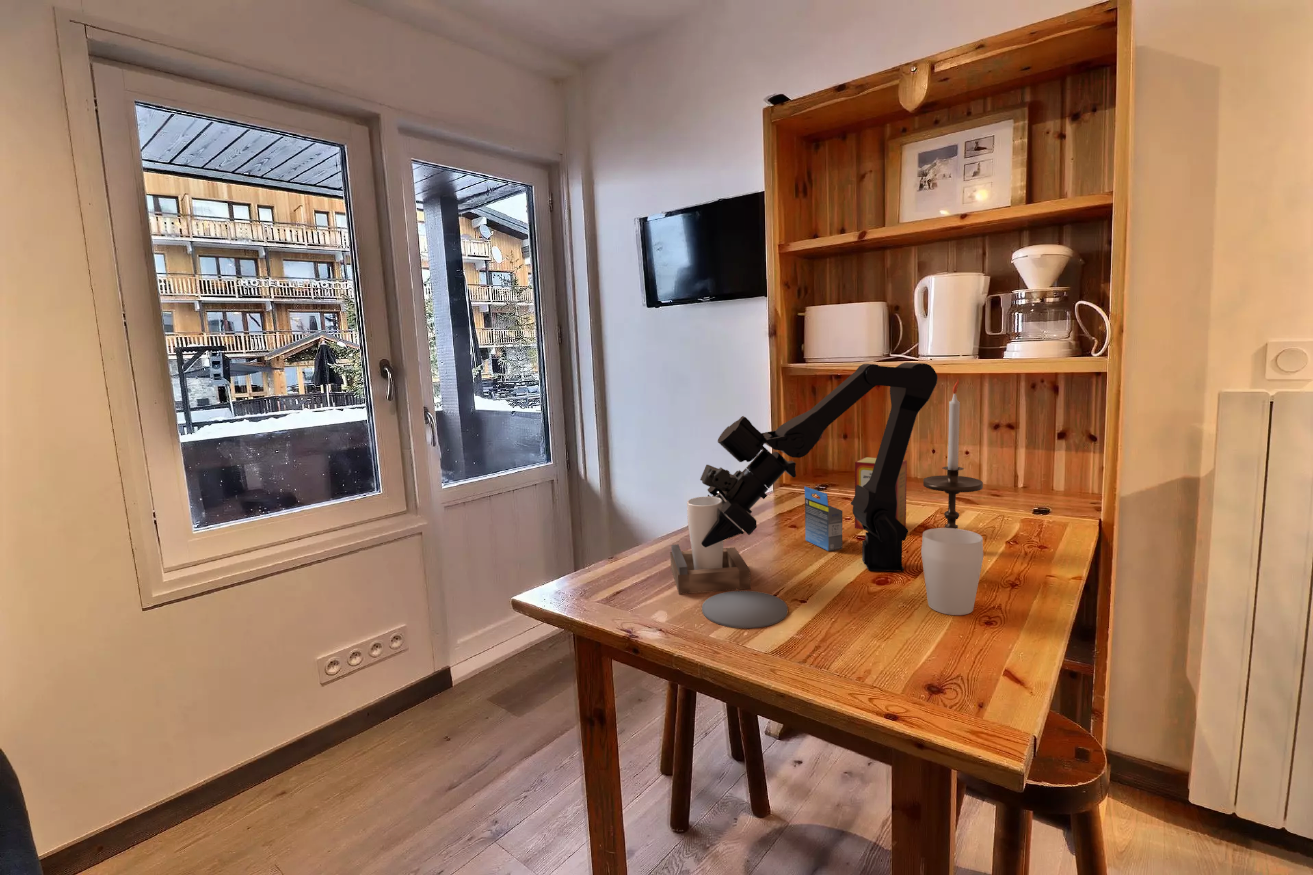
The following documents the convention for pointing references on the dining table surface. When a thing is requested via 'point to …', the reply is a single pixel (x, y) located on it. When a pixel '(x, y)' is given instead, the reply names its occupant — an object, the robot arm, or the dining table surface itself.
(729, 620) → the slate mat
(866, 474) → the baking soda box
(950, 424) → the candlestick
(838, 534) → the blue hang tab box
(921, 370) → the robot arm
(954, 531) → the cup
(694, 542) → the drinking glass
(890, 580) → the dining table surface
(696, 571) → the wooden holder tray
